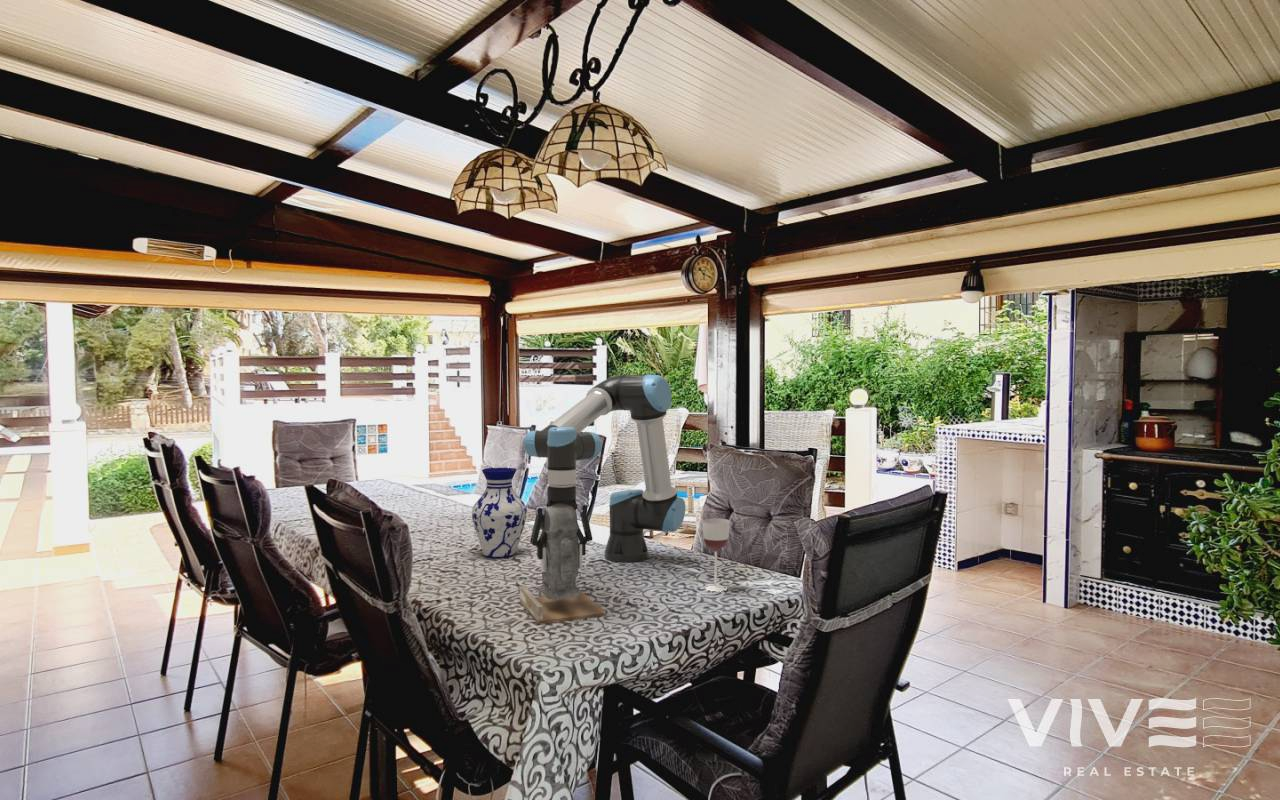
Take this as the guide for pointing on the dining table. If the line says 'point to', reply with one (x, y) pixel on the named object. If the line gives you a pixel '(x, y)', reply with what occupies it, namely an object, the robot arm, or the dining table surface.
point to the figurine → (560, 552)
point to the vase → (499, 514)
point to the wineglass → (715, 541)
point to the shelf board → (559, 607)
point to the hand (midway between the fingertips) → (561, 569)
